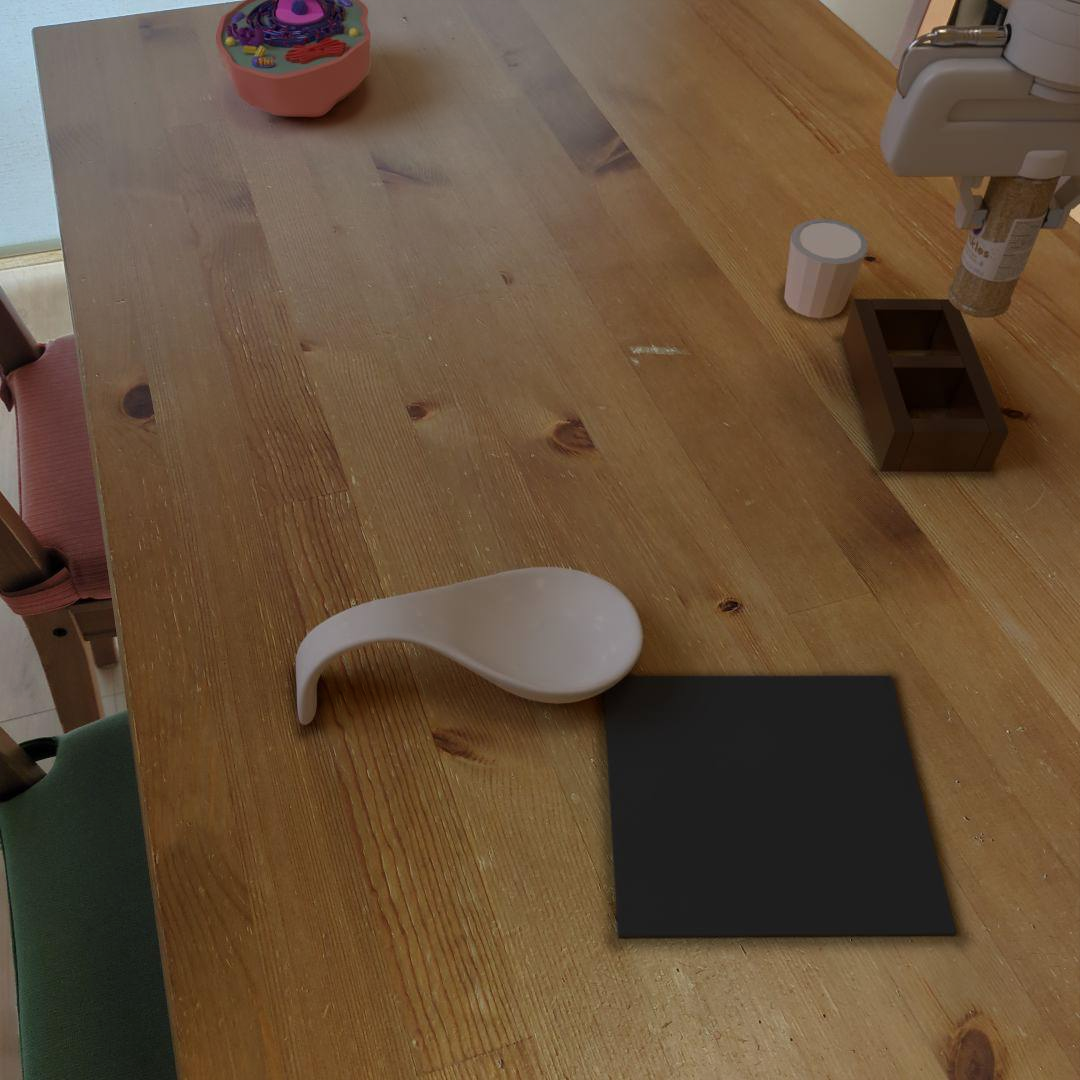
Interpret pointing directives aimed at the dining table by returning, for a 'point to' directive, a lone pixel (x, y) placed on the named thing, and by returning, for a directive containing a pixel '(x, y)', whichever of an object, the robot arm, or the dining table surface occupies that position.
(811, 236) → the white short cylinder
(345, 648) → the spoon rest
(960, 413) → the bottle rack
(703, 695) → the mat
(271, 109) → the cell model
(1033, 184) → the sprinkles bottle
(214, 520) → the dining table surface
